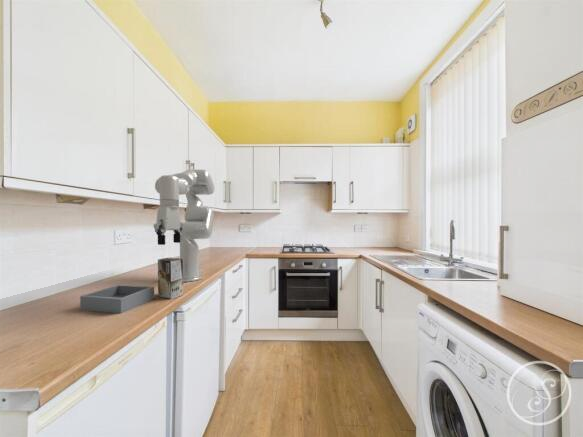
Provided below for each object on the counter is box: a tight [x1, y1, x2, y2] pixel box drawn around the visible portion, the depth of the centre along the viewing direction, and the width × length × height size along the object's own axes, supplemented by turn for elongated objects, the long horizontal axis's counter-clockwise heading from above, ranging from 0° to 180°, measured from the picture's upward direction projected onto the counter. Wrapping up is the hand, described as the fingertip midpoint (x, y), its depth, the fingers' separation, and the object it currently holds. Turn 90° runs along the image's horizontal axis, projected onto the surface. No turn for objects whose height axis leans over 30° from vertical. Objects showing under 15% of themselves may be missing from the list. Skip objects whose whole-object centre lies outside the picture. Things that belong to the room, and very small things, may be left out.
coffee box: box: [157, 257, 184, 300], centre depth 108 cm, size 9×6×16 cm
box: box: [79, 284, 155, 314], centre depth 98 cm, size 16×18×5 cm
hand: (169, 243), depth 108 cm, fingers open, 9 cm apart
